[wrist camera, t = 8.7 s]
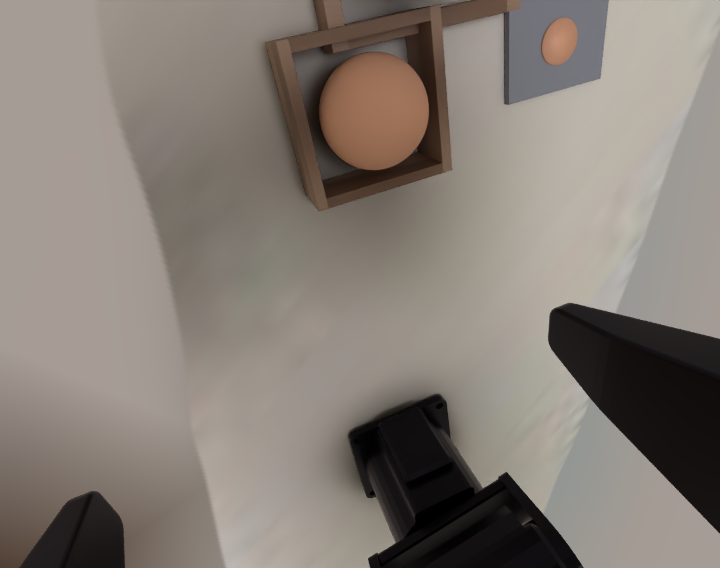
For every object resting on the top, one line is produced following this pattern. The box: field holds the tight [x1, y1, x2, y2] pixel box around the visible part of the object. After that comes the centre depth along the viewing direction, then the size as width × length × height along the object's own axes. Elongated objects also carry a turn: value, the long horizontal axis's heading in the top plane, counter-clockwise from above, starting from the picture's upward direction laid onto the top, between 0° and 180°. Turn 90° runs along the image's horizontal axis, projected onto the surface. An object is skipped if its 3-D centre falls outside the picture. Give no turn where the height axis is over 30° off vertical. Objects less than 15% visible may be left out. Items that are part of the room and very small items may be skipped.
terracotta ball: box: [319, 52, 429, 170], centre depth 16 cm, size 4×4×4 cm
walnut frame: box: [265, 5, 452, 211], centre depth 16 cm, size 6×6×2 cm
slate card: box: [505, 0, 609, 104], centre depth 18 cm, size 7×5×1 cm
